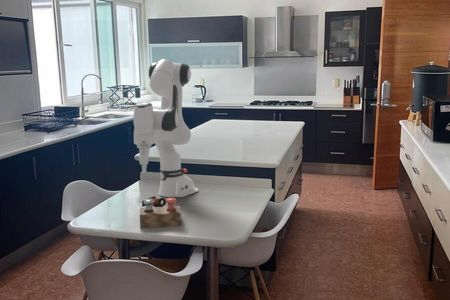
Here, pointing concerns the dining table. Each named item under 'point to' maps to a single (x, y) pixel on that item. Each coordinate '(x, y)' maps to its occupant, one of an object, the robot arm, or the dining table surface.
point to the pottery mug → (156, 202)
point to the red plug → (171, 203)
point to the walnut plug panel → (160, 217)
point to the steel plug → (148, 204)
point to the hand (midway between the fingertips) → (144, 170)
